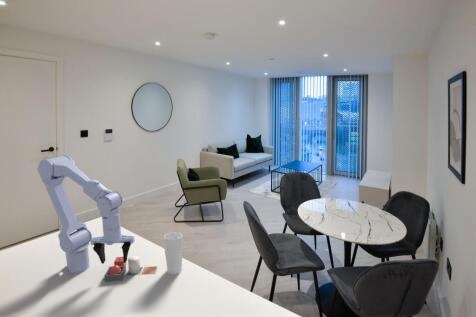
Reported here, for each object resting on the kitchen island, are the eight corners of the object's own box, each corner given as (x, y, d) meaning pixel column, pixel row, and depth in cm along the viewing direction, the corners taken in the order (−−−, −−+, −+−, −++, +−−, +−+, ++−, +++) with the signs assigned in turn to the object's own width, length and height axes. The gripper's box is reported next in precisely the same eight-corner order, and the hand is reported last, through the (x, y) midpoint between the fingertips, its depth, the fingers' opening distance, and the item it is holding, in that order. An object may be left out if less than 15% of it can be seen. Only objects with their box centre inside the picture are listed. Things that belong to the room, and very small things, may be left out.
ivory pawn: (127, 270, 113) (126, 258, 111) (137, 266, 115) (136, 254, 114) (131, 275, 110) (130, 263, 108) (141, 271, 112) (141, 259, 111)
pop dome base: (104, 281, 106) (104, 275, 105) (110, 272, 112) (109, 266, 111) (121, 280, 106) (121, 274, 106) (126, 271, 112) (125, 265, 112)
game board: (104, 284, 106) (104, 281, 106) (114, 265, 117) (114, 263, 117) (153, 281, 107) (153, 279, 107) (158, 263, 119) (158, 261, 119)
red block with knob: (114, 269, 113) (113, 260, 112) (117, 265, 117) (116, 256, 116) (124, 269, 114) (123, 260, 113) (126, 264, 117) (125, 255, 116)
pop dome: (108, 277, 107) (107, 269, 106) (111, 271, 110) (111, 263, 110) (119, 277, 107) (118, 268, 106) (122, 271, 111) (121, 262, 110)
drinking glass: (165, 279, 109) (164, 240, 106) (165, 269, 115) (163, 232, 112) (184, 276, 111) (183, 238, 108) (182, 266, 117) (181, 230, 114)
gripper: (85, 232, 101) (89, 268, 103) (130, 230, 102) (132, 266, 105) (93, 223, 107) (96, 258, 110) (134, 222, 109) (137, 256, 112)
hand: (114, 261), depth 108 cm, fingers open, 7 cm apart
